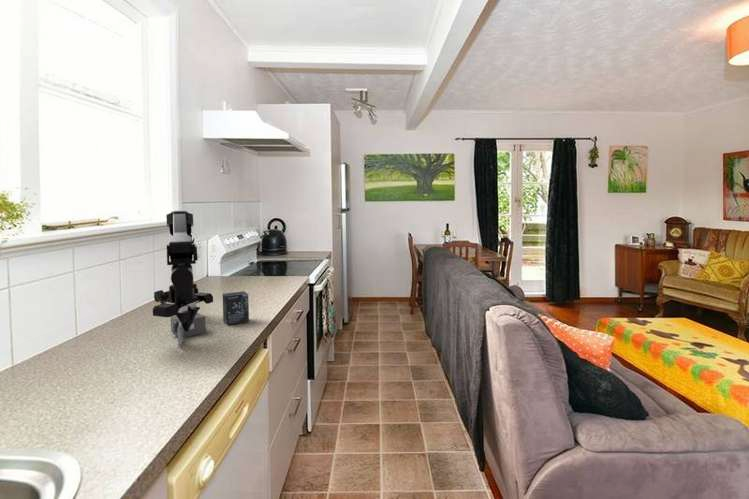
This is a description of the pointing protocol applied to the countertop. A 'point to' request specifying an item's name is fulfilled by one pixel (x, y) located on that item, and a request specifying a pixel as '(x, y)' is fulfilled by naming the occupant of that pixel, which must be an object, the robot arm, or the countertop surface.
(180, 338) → the side door
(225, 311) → the box
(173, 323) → the grey squat block
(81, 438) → the countertop surface
